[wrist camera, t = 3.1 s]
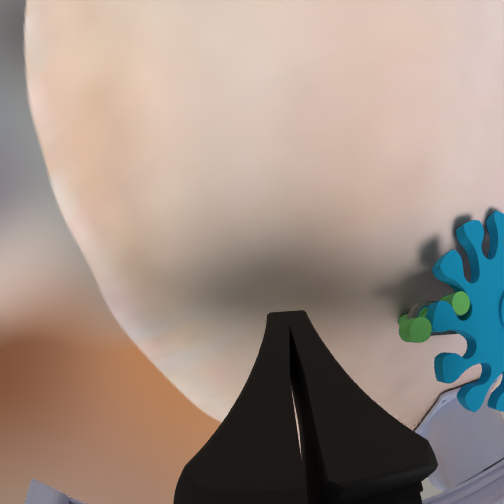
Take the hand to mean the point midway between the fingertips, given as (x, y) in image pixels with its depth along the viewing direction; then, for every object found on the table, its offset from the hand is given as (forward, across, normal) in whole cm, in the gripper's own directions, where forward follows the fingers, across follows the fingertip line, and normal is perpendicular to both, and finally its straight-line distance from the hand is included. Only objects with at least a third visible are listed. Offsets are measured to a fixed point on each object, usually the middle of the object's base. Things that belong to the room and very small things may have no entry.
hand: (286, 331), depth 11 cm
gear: (+3, -10, 0) cm, 11 cm away
